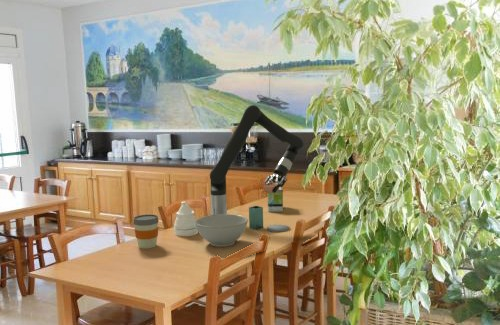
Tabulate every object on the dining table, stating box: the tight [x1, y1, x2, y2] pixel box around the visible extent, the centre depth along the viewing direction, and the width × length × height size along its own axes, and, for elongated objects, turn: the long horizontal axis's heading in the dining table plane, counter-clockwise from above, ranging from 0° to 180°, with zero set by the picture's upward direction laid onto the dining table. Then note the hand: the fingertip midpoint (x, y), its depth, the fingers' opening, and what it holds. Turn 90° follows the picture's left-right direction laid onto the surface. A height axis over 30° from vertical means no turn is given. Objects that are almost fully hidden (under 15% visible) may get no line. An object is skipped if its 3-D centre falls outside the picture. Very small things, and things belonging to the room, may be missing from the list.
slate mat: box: [266, 224, 291, 233], centre depth 278 cm, size 13×13×1 cm
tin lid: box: [262, 184, 279, 194], centre depth 276 cm, size 6×6×4 cm
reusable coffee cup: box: [133, 214, 159, 249], centre depth 251 cm, size 13×13×15 cm
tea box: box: [267, 187, 284, 213], centre depth 326 cm, size 15×10×15 cm, turn 179°
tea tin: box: [248, 205, 264, 230], centre depth 281 cm, size 6×6×12 cm
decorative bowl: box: [195, 213, 249, 248], centre depth 253 cm, size 27×27×12 cm
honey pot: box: [173, 201, 199, 237], centre depth 274 cm, size 13×13×18 cm
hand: (269, 191), depth 275 cm, fingers closed on tin lid, 6 cm apart
